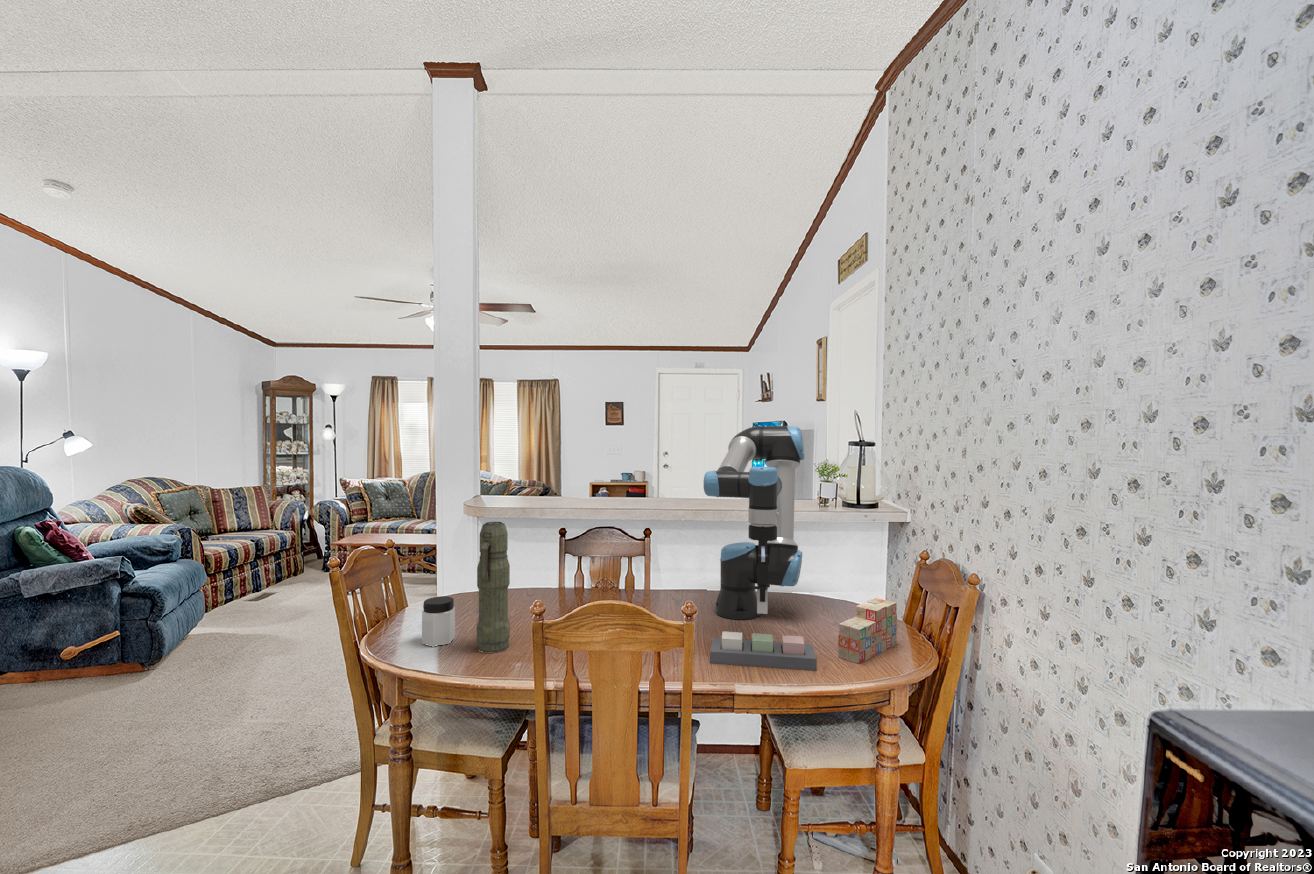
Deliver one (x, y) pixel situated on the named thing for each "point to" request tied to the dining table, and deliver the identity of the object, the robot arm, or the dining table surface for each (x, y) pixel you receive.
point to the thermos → (493, 588)
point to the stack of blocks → (868, 631)
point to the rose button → (792, 645)
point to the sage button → (762, 643)
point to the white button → (732, 641)
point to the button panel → (763, 656)
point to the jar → (438, 620)
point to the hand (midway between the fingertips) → (762, 612)
